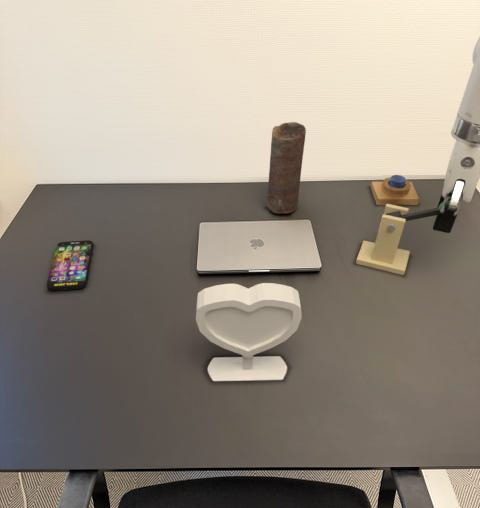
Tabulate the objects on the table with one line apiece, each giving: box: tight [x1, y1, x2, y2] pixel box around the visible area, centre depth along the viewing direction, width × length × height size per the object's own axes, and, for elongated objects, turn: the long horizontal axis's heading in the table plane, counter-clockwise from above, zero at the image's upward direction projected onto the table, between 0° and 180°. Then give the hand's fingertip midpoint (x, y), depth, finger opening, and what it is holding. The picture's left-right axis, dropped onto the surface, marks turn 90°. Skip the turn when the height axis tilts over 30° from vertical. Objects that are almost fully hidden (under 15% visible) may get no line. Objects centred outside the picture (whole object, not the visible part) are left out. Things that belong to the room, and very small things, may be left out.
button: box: [389, 174, 407, 188], centre depth 114 cm, size 4×4×2 cm
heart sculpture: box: [195, 282, 303, 382], centre depth 73 cm, size 16×5×18 cm, turn 91°
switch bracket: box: [355, 204, 411, 276], centre depth 96 cm, size 10×7×12 cm
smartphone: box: [46, 240, 94, 292], centre depth 98 cm, size 8×1×15 cm
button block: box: [370, 176, 420, 206], centre depth 116 cm, size 10×8×4 cm
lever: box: [386, 200, 450, 222], centre depth 90 cm, size 13×3×3 cm, turn 68°
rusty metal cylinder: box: [266, 121, 307, 215], centre depth 106 cm, size 8×7×20 cm
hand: (443, 220), depth 89 cm, fingers open, 5 cm apart
